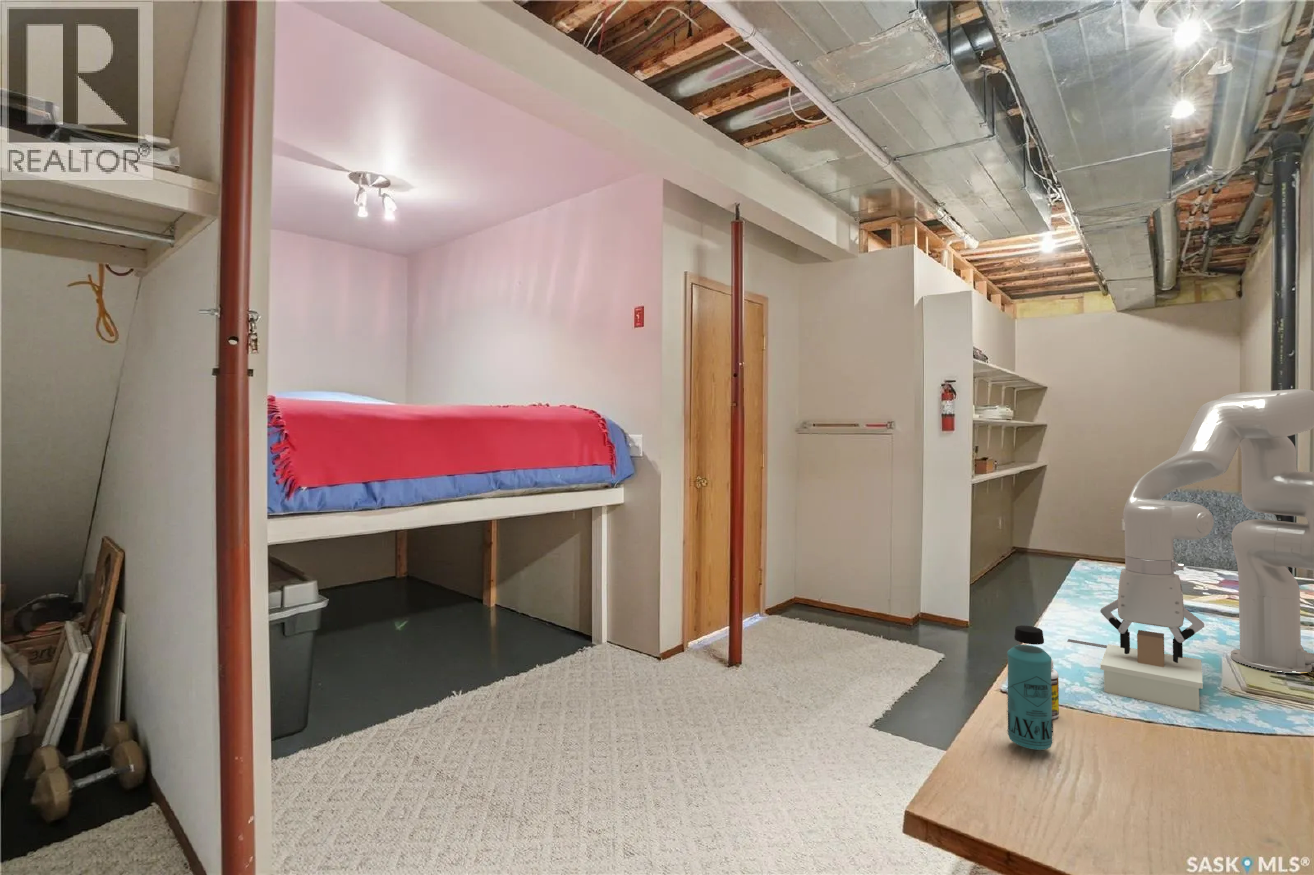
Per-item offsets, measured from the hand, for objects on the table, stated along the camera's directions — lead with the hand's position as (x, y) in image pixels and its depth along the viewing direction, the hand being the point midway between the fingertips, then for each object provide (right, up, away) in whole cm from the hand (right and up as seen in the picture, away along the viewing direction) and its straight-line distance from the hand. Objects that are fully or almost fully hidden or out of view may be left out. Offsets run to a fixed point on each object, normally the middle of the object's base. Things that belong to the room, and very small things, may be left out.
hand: (1150, 655), depth 121 cm
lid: (0, -2, 0) cm, 2 cm away
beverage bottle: (-37, -8, -21) cm, 43 cm away
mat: (+5, -7, +20) cm, 21 cm away
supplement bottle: (-27, -8, -8) cm, 29 cm away
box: (0, -7, 0) cm, 7 cm away
